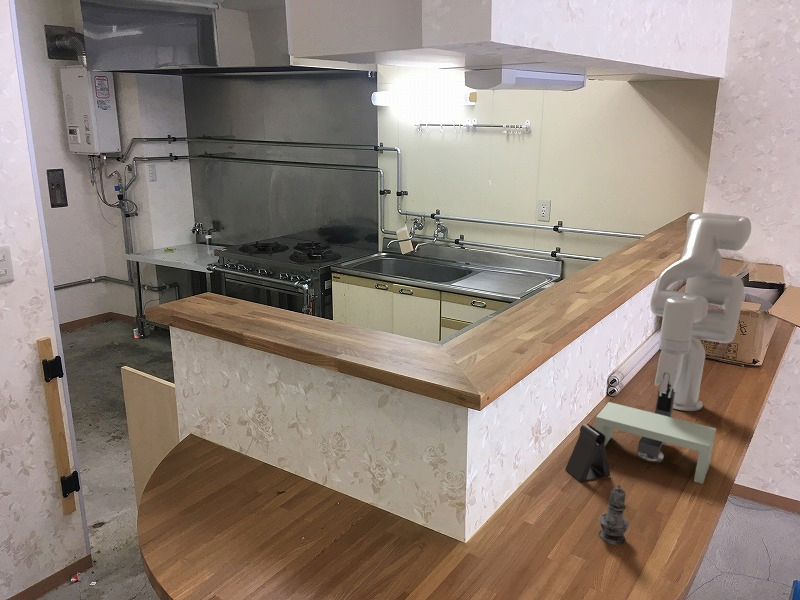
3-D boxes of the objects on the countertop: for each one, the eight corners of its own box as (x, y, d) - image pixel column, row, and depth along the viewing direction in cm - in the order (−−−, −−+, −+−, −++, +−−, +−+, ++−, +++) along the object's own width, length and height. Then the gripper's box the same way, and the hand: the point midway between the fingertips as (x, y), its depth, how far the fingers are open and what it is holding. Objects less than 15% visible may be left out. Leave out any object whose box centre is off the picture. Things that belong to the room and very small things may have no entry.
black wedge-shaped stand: (595, 465, 163) (600, 421, 160) (610, 476, 157) (616, 431, 154) (564, 470, 160) (570, 425, 157) (579, 482, 154) (585, 436, 151)
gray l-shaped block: (651, 428, 178) (658, 388, 175) (670, 433, 176) (677, 392, 173) (637, 451, 164) (644, 408, 161) (657, 457, 162) (665, 413, 159)
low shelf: (604, 435, 179) (608, 401, 177) (709, 464, 166) (716, 428, 163) (591, 451, 170) (596, 416, 167) (702, 483, 156) (709, 446, 153)
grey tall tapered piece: (623, 549, 130) (630, 496, 126) (593, 538, 132) (600, 486, 129) (629, 534, 134) (637, 483, 131) (601, 525, 137) (608, 474, 134)
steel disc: (641, 449, 173) (642, 445, 172) (665, 456, 169) (665, 452, 169) (636, 458, 168) (636, 454, 167) (660, 465, 165) (661, 461, 164)
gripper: (665, 334, 178) (655, 396, 183) (653, 348, 165) (643, 415, 170) (694, 340, 175) (684, 403, 179) (684, 354, 162) (673, 422, 166)
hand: (664, 408), depth 175 cm, fingers closed on gray l-shaped block
